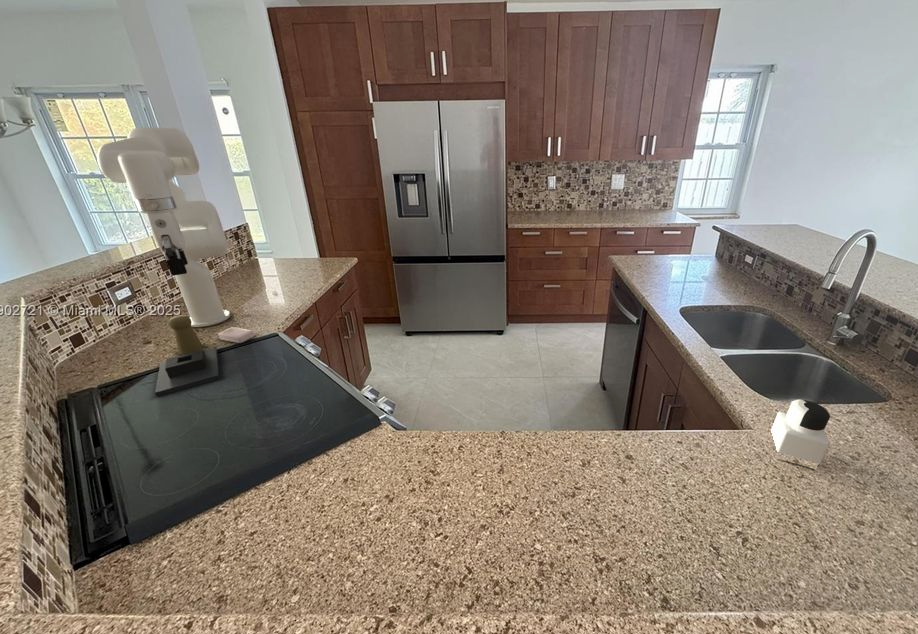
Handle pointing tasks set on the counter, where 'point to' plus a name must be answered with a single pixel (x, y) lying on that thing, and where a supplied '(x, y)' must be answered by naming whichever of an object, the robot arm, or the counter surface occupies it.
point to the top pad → (185, 363)
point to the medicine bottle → (802, 431)
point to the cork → (185, 334)
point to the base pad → (188, 375)
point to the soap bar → (236, 335)
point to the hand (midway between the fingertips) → (180, 269)
